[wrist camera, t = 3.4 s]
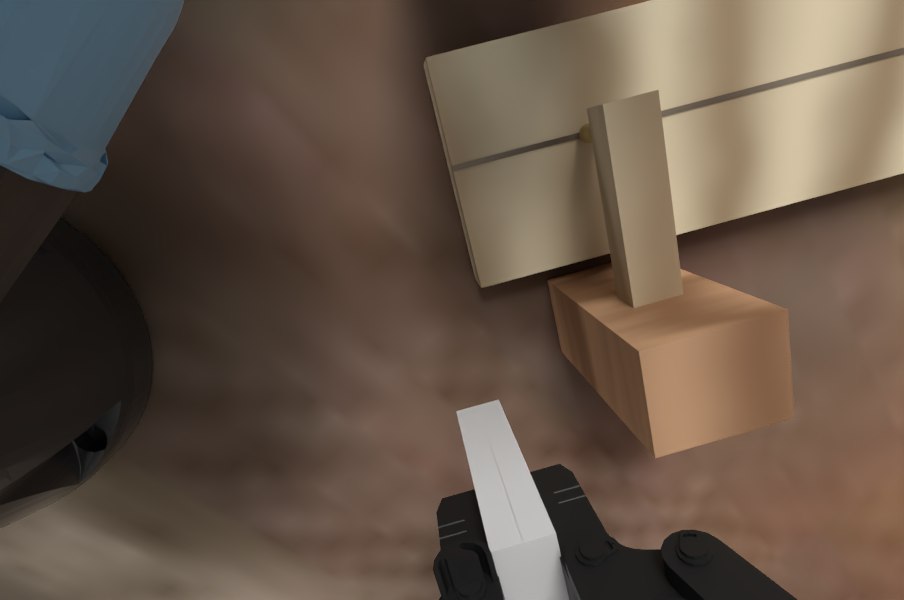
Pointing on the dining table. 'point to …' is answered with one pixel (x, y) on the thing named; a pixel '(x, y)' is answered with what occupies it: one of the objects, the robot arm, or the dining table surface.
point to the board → (667, 117)
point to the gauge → (664, 307)
